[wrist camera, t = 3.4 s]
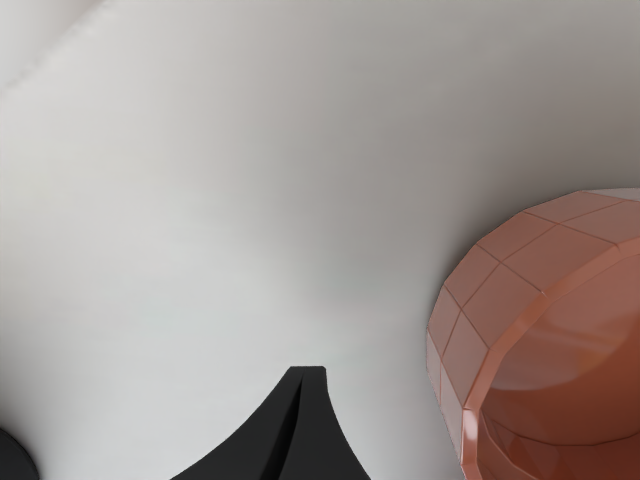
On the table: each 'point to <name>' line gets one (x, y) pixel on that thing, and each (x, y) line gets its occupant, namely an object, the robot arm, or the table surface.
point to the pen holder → (15, 460)
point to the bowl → (545, 343)
